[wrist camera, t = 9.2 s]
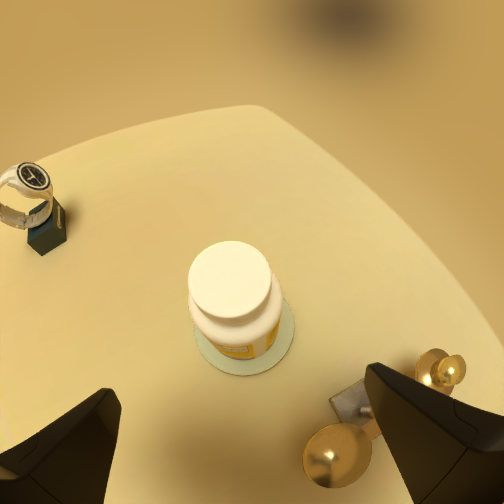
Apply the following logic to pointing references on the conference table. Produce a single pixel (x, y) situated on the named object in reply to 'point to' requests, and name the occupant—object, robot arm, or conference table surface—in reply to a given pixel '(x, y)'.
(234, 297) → the supplement bottle
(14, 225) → the watch
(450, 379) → the balance
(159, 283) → the conference table surface
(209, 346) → the dish
